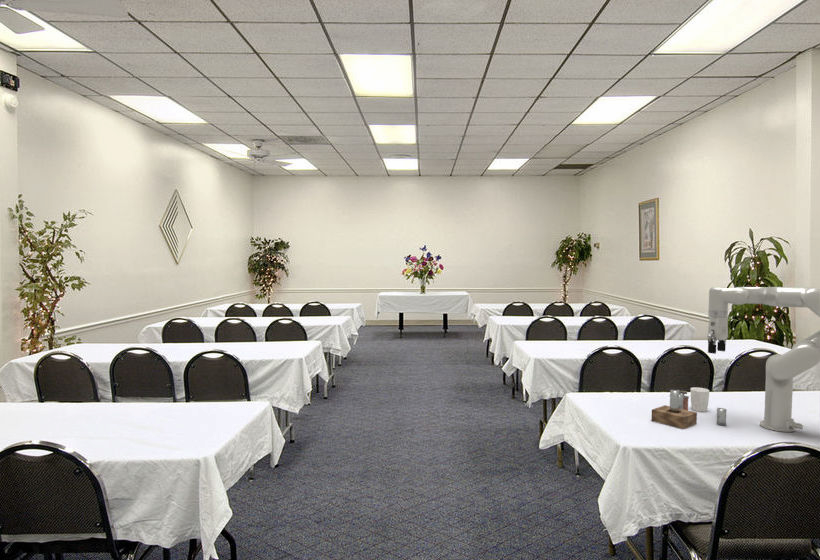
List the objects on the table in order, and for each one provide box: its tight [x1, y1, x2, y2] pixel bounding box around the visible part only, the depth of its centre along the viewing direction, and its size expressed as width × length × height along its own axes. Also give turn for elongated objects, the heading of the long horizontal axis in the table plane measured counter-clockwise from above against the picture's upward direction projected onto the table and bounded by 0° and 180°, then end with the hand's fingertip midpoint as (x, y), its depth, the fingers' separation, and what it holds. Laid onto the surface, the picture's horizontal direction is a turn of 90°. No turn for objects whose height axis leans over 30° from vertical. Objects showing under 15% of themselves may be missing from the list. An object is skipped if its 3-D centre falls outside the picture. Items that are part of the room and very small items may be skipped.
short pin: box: [716, 407, 727, 427], centre depth 226 cm, size 4×4×7 cm
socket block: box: [650, 404, 698, 430], centre depth 229 cm, size 14×12×5 cm
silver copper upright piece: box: [676, 389, 690, 411], centre depth 246 cm, size 8×3×10 cm, turn 62°
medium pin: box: [679, 394, 683, 409], centre depth 237 cm, size 4×4×10 cm
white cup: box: [690, 387, 710, 413], centre depth 248 cm, size 8×8×10 cm
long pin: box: [669, 389, 679, 413], centre depth 228 cm, size 4×4×14 cm
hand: (716, 352), depth 234 cm, fingers open, 9 cm apart
